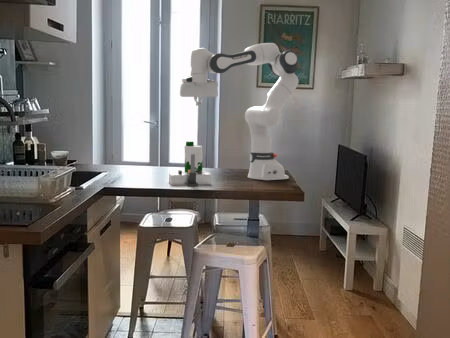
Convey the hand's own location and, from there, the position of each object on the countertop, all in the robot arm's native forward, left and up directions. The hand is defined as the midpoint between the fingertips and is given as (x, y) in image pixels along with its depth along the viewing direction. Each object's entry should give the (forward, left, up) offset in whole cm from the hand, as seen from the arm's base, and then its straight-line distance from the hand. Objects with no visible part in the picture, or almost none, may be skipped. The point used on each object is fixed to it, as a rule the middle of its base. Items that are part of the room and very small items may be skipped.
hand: (199, 105), depth 266 cm
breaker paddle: (+8, +19, -34) cm, 39 cm away
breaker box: (+8, +19, -39) cm, 44 cm away
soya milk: (+4, +8, -39) cm, 40 cm away
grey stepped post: (+8, +26, -39) cm, 47 cm away
